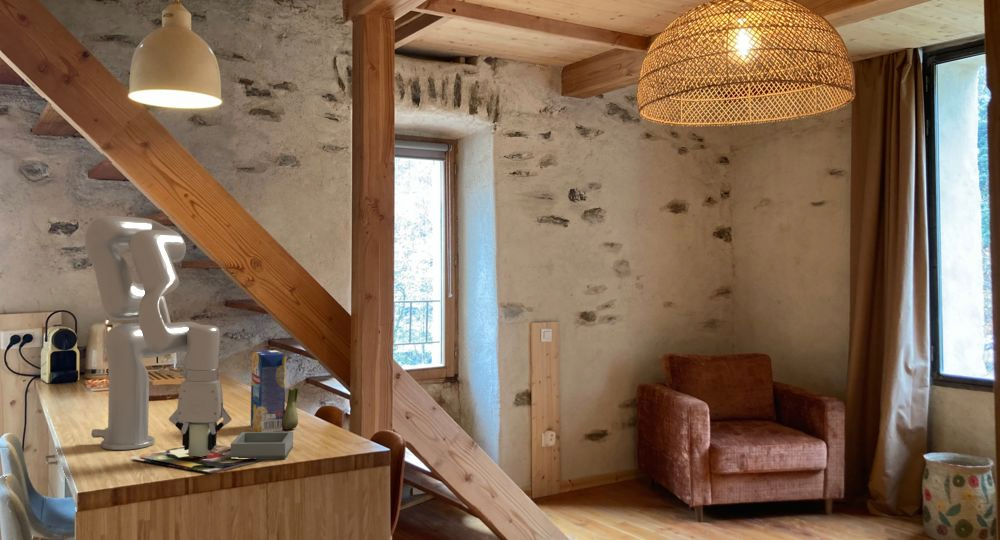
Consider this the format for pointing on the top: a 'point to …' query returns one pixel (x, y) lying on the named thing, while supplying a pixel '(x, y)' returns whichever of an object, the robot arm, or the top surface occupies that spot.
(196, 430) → the white ceramic cup
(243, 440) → the bin
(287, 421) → the fennel bulb
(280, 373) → the beverage box
